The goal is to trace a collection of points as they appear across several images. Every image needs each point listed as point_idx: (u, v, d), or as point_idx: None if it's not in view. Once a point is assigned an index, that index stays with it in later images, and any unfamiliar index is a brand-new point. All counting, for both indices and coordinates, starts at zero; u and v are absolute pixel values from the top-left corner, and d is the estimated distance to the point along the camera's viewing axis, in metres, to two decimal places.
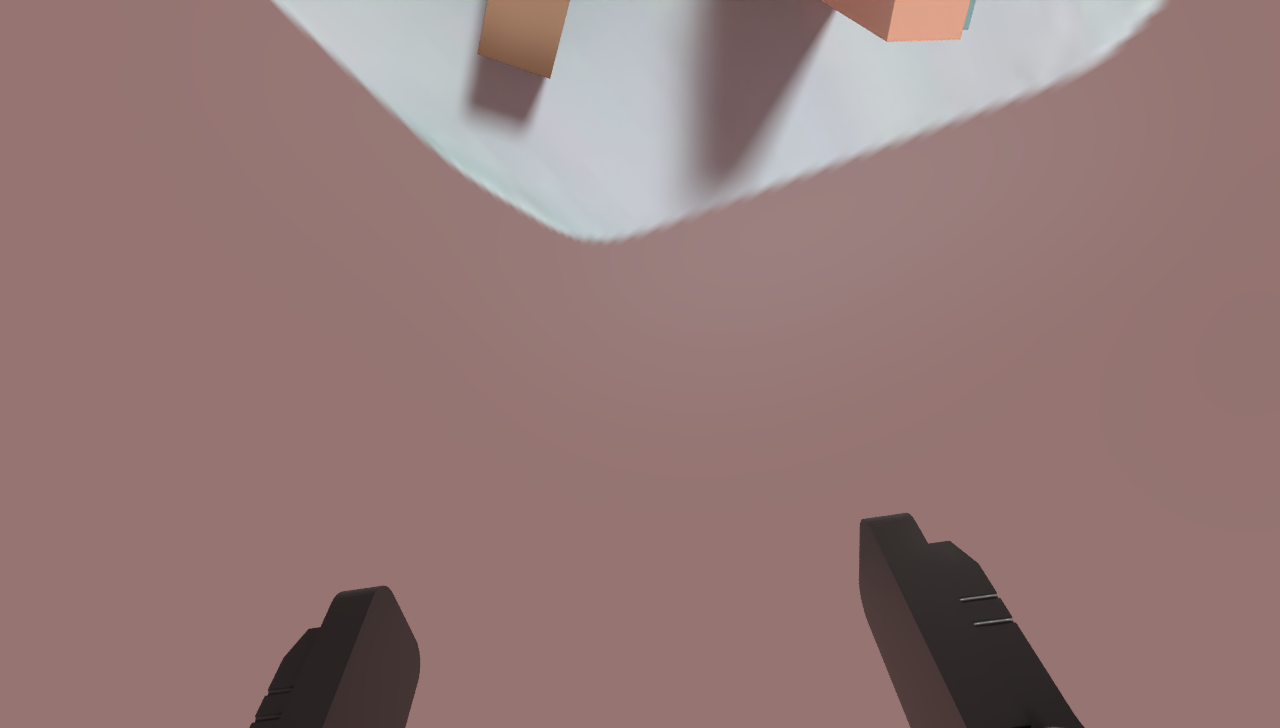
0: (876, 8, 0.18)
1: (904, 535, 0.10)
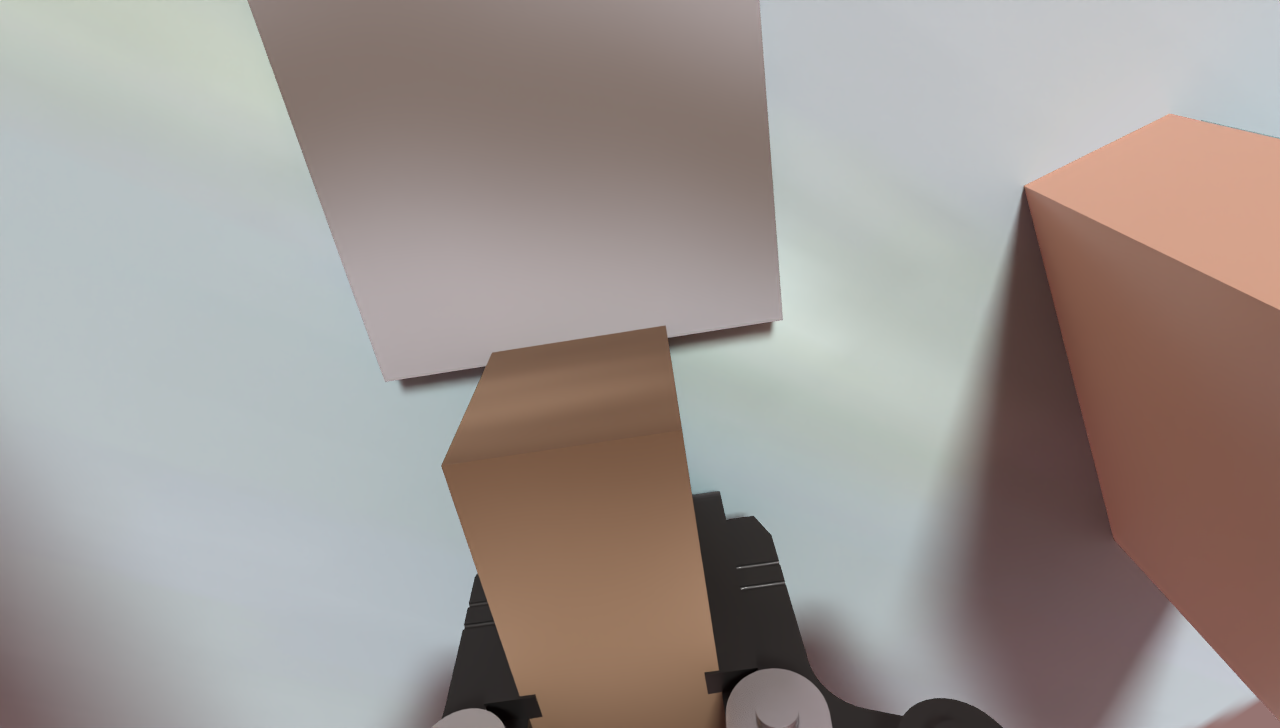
0: None
1: (707, 510, 0.11)
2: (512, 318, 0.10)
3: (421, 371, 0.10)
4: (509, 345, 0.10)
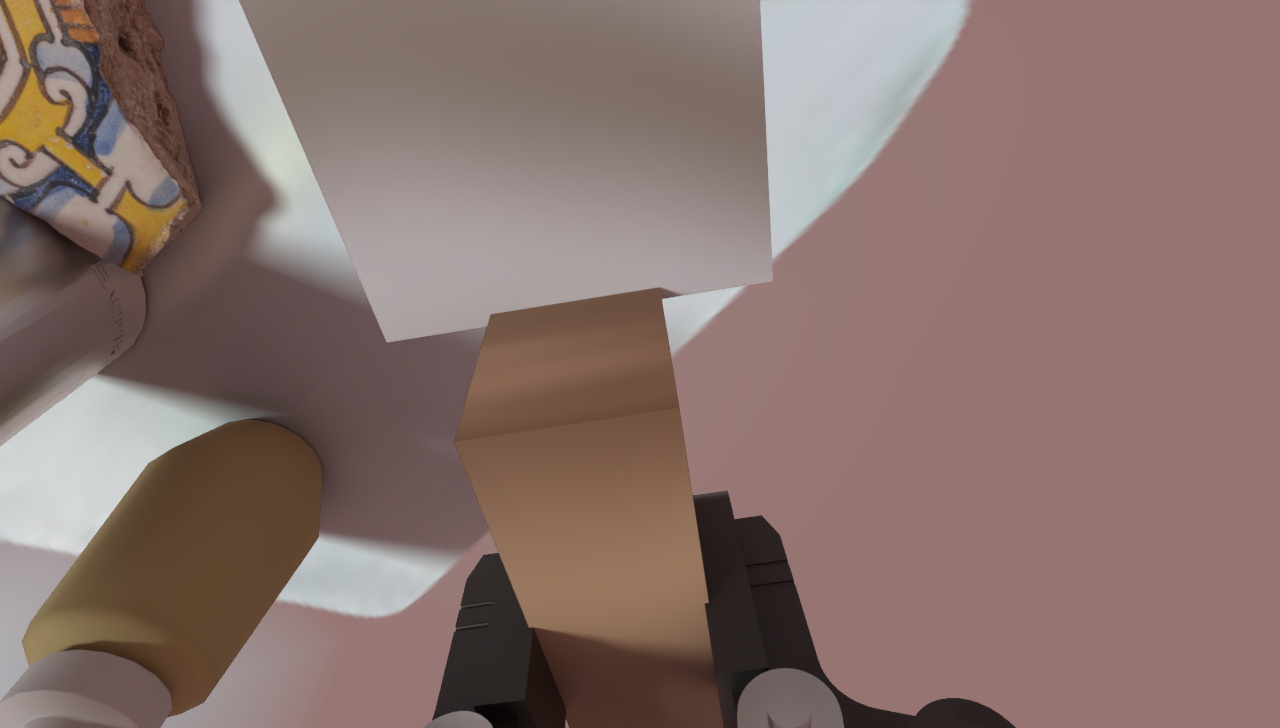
0: None
1: (715, 510, 0.11)
2: (510, 282, 0.10)
3: (422, 332, 0.10)
4: (507, 306, 0.10)
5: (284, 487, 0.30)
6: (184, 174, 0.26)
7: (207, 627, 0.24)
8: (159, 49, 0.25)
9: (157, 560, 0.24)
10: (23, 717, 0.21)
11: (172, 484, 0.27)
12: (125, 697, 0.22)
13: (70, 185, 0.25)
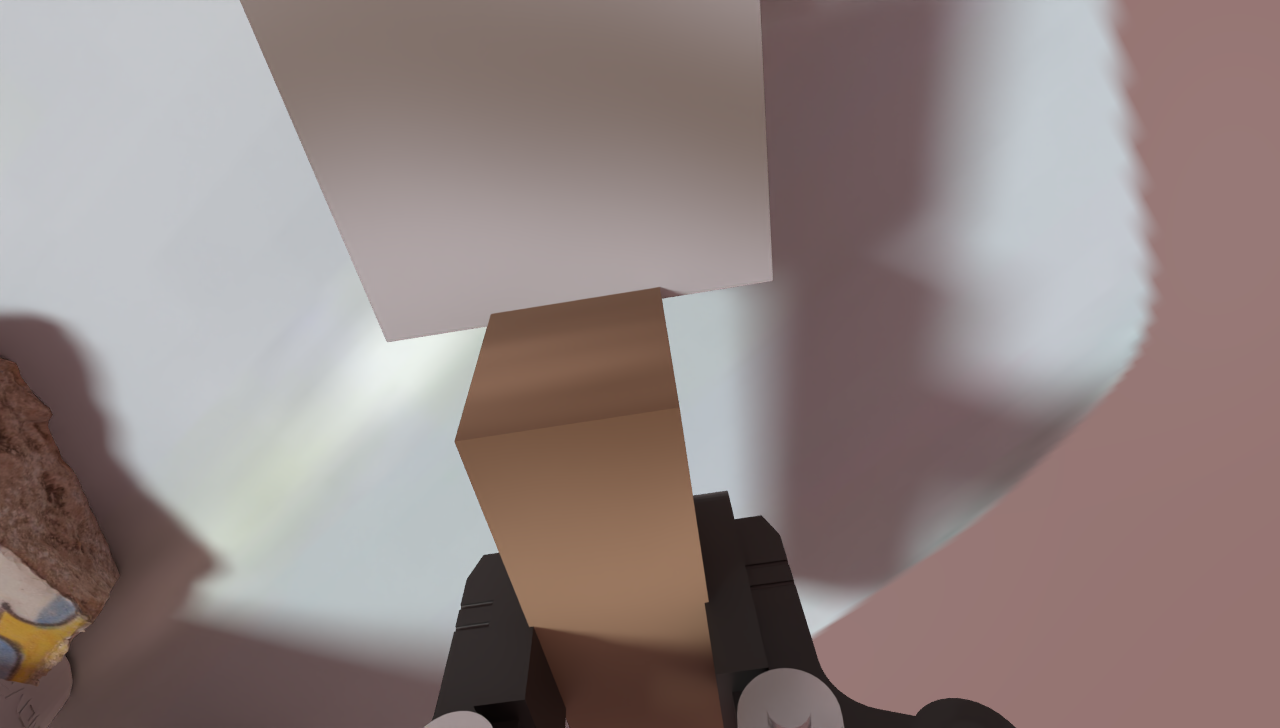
0: None
1: (716, 510, 0.11)
2: (510, 282, 0.10)
3: (422, 332, 0.10)
4: (507, 306, 0.10)
5: None
6: (88, 562, 0.20)
7: None
8: (45, 421, 0.18)
9: None
10: None
11: None
12: None
13: None
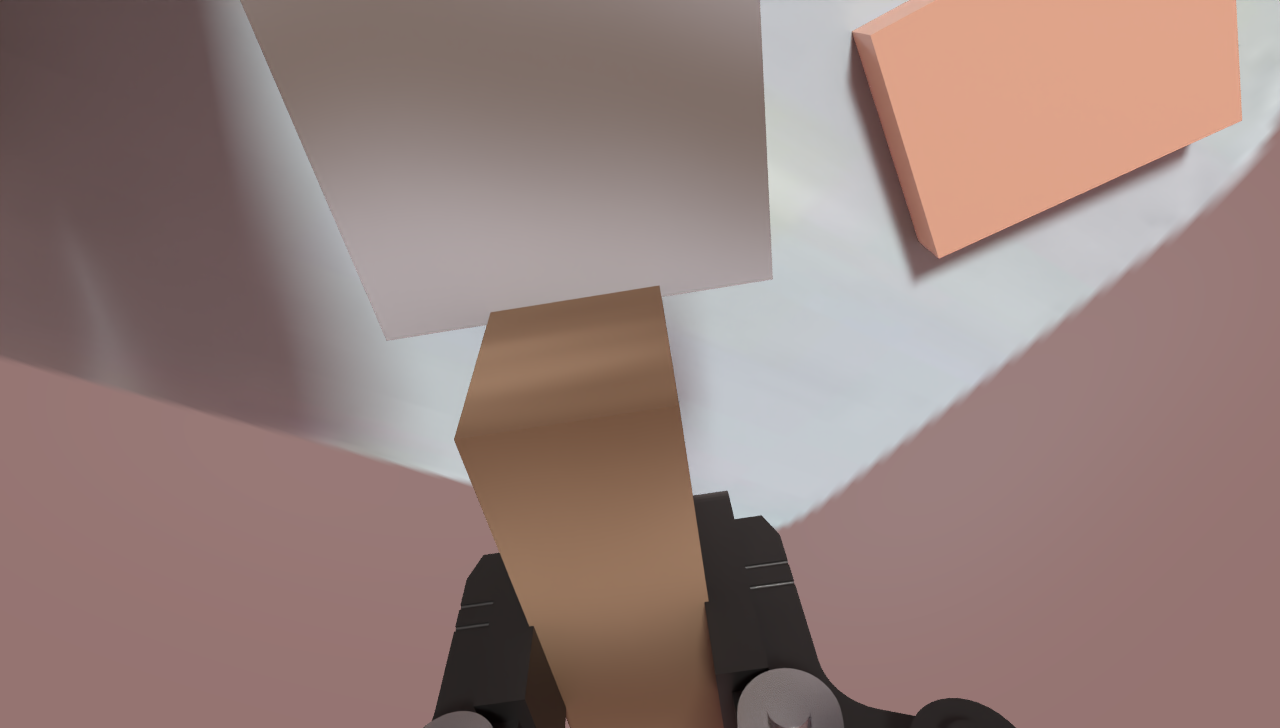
0: (1201, 121, 0.21)
1: (715, 510, 0.11)
2: (510, 280, 0.10)
3: (422, 330, 0.10)
4: (506, 304, 0.10)
5: None
6: None
7: None
8: None
9: None
10: None
11: None
12: None
13: None
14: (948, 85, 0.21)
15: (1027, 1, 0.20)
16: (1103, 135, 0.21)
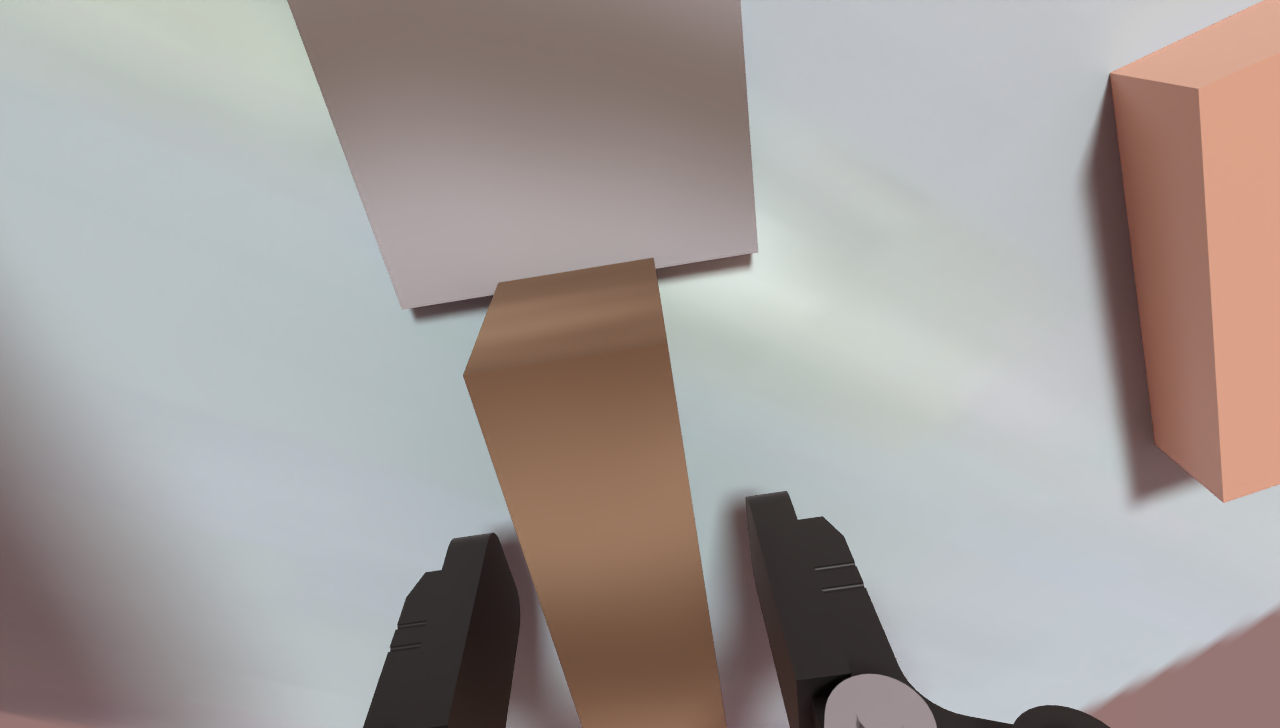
0: None
1: (777, 510, 0.11)
2: (516, 251, 0.11)
3: (434, 300, 0.11)
4: (513, 276, 0.11)
5: None
6: None
7: None
8: None
9: None
10: None
11: None
12: None
13: None
14: None
15: None
16: None
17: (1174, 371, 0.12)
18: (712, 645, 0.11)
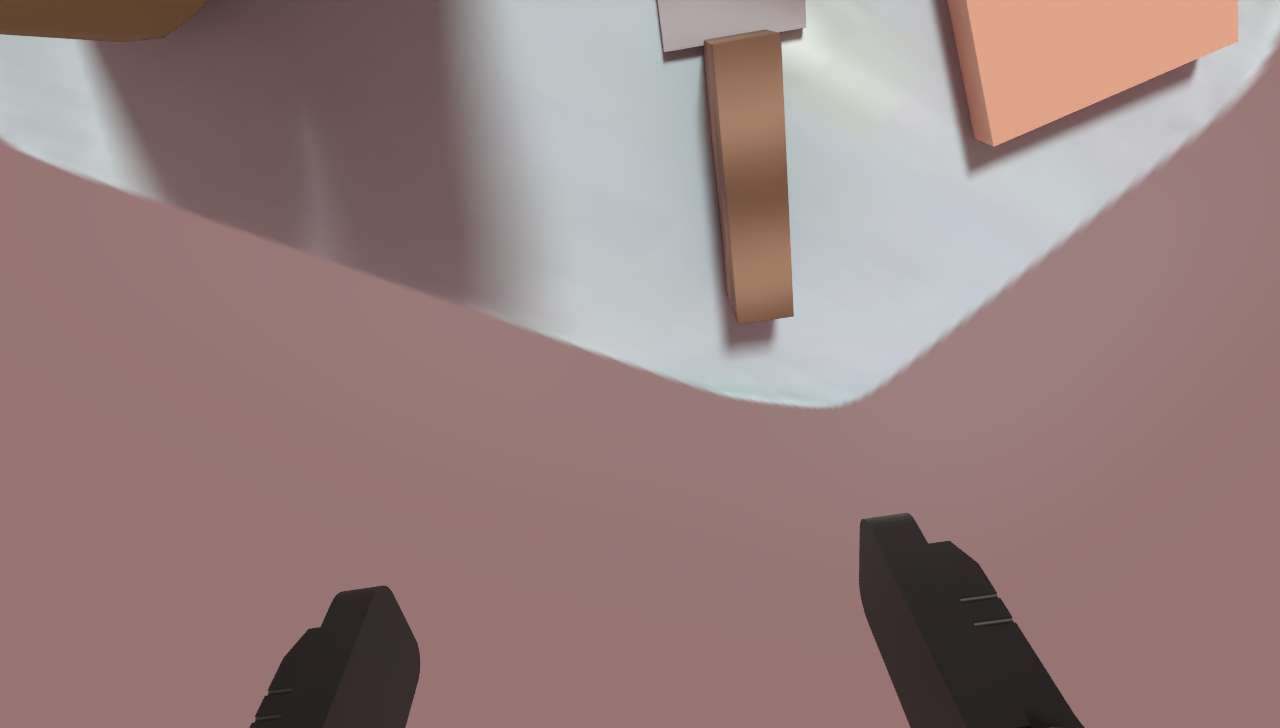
0: (1206, 40, 0.27)
1: (904, 535, 0.10)
2: (712, 25, 0.28)
3: (678, 47, 0.28)
4: (708, 39, 0.28)
5: None
6: None
7: None
8: None
9: None
10: None
11: None
12: None
13: None
14: None
15: None
16: (1130, 47, 0.27)
17: (972, 87, 0.29)
18: (787, 184, 0.28)
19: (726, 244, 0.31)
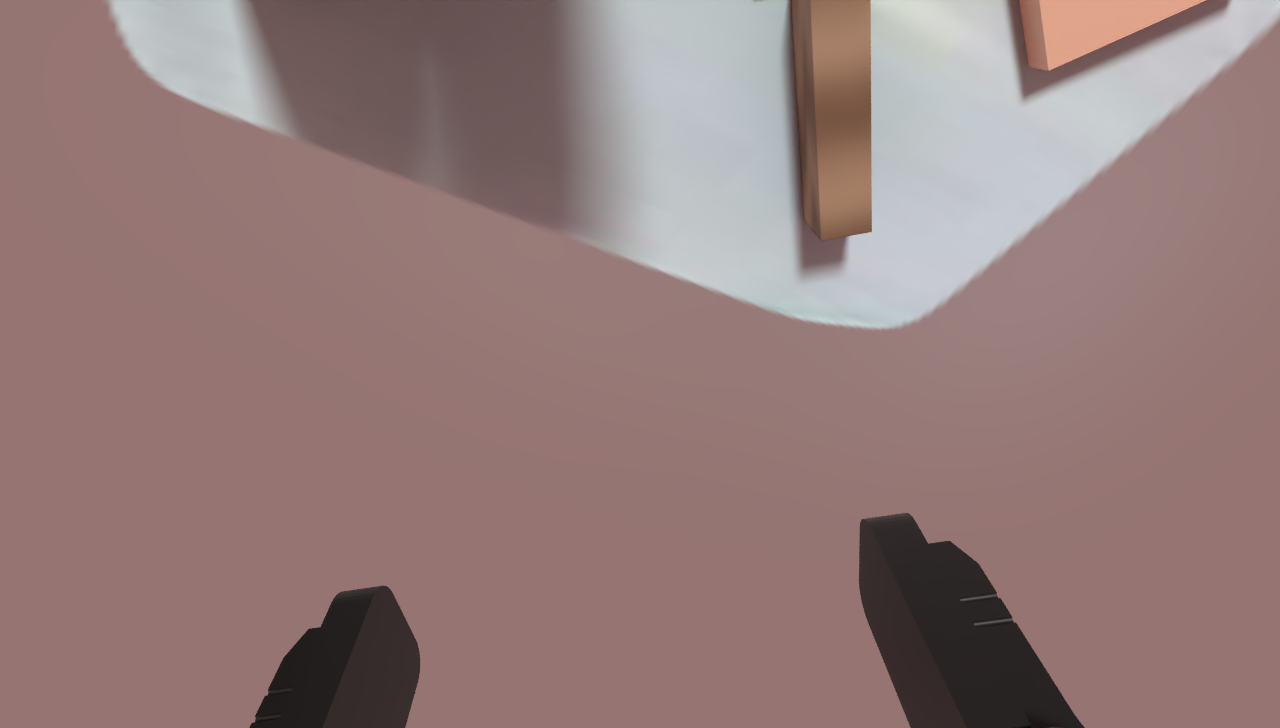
0: None
1: (904, 535, 0.10)
2: None
3: None
4: None
5: None
6: None
7: None
8: None
9: None
10: None
11: None
12: None
13: None
14: None
15: None
16: None
17: (1030, 16, 0.32)
18: (870, 106, 0.31)
19: (809, 168, 0.34)
